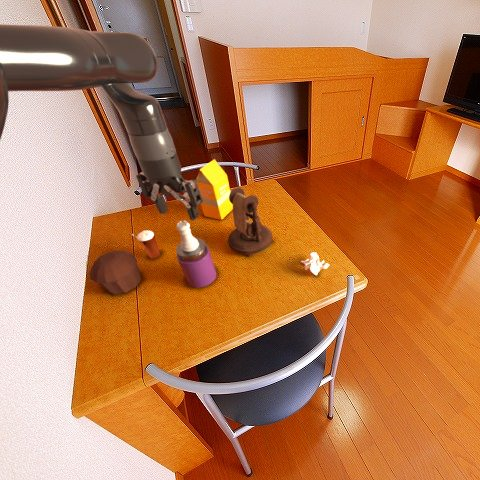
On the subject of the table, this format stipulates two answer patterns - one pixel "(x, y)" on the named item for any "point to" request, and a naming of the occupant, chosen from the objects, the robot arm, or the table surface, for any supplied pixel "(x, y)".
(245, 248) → the scroll
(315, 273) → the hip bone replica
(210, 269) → the jar
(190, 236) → the rook chess piece
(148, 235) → the milkshake
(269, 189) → the table surface
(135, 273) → the muffin
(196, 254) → the jar lid
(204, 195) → the orange juice
